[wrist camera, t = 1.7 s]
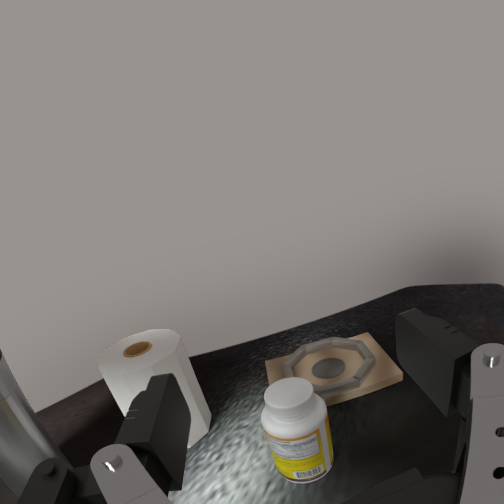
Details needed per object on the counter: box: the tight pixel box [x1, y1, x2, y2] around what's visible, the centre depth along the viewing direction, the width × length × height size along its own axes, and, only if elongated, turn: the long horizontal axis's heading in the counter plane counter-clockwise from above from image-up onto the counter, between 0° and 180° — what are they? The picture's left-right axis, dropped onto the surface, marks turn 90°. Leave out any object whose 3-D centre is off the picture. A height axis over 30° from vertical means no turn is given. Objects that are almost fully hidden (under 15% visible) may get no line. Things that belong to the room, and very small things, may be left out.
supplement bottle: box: [261, 377, 334, 483], centre depth 24 cm, size 6×6×10 cm
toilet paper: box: [97, 329, 211, 448], centre depth 34 cm, size 10×10×12 cm
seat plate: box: [265, 332, 403, 407], centre depth 39 cm, size 16×12×2 cm
